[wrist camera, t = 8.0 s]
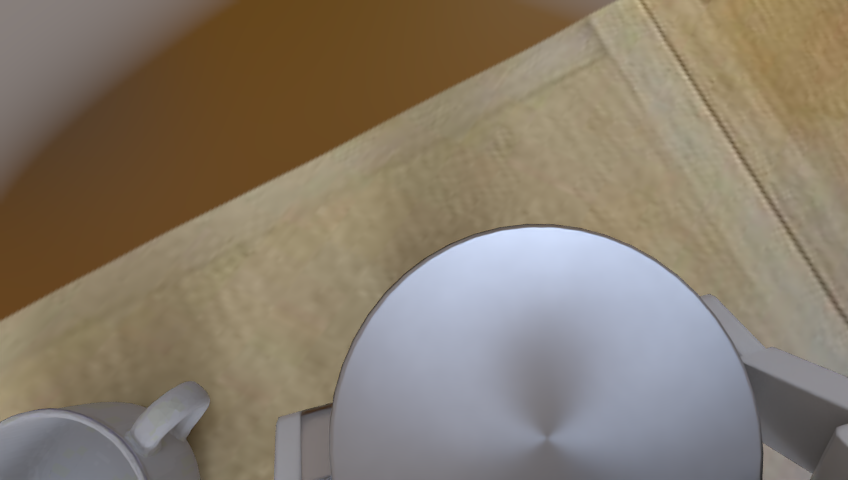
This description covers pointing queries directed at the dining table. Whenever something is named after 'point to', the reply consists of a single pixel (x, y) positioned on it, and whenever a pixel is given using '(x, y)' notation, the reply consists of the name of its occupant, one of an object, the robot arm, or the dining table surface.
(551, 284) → the silver metal cylinder
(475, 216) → the dining table surface
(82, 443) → the teacup
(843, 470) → the robot arm
